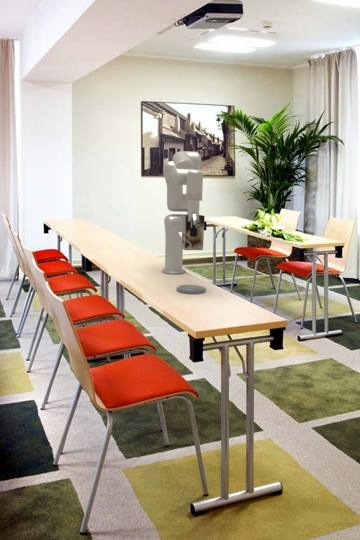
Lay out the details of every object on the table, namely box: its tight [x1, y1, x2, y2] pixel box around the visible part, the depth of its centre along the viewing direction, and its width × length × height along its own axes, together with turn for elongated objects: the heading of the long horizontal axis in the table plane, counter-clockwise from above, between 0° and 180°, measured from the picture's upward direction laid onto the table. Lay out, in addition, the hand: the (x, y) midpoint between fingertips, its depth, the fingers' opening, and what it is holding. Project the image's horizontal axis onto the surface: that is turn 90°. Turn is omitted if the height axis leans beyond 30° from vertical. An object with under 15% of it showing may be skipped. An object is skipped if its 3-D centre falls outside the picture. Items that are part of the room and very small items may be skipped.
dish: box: [176, 284, 207, 295], centre depth 294 cm, size 14×14×2 cm
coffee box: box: [181, 214, 205, 251], centre depth 289 cm, size 9×6×16 cm
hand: (192, 234), depth 289 cm, fingers closed on coffee box, 7 cm apart
